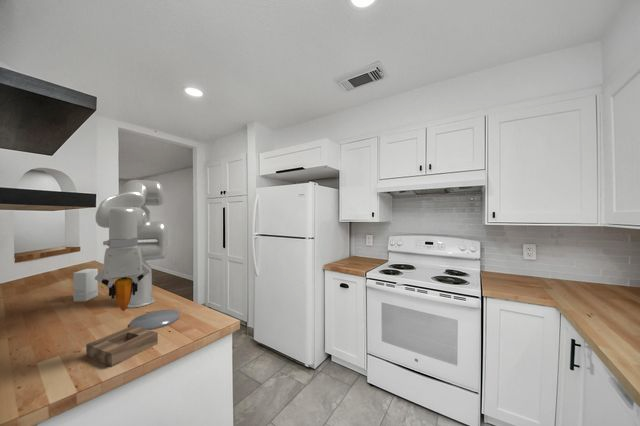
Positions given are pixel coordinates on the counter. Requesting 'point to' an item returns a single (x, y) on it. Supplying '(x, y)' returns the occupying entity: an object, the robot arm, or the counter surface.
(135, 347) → the pocket block
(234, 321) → the counter surface
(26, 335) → the counter surface
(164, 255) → the robot arm
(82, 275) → the skincare box
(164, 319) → the plate
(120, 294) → the carrot
